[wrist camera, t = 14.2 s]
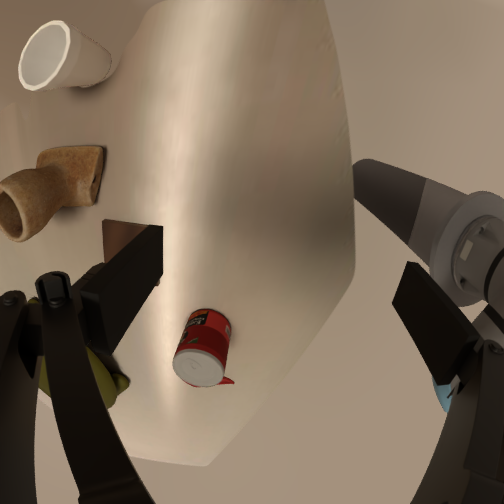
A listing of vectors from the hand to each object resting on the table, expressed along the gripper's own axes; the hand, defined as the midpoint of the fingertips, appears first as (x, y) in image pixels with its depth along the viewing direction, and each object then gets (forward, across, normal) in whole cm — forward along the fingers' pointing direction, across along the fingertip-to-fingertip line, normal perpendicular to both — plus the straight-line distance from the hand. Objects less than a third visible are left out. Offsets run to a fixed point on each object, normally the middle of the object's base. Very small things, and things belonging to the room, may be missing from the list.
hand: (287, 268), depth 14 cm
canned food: (+27, -7, -26) cm, 38 cm away
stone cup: (+27, -33, -3) cm, 43 cm away
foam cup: (+27, -30, +16) cm, 43 cm away
